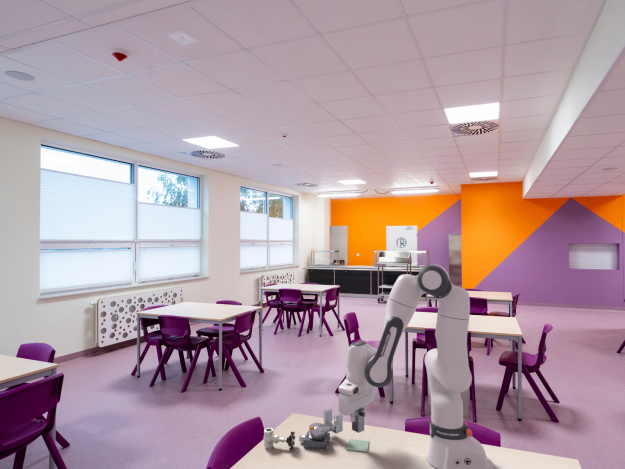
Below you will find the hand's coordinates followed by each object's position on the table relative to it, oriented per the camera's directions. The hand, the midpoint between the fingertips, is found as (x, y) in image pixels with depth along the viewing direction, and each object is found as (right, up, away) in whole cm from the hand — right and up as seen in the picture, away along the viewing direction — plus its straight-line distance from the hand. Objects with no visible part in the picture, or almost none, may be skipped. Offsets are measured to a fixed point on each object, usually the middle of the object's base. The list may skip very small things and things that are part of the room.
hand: (357, 419), depth 154 cm
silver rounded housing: (-13, -7, +3) cm, 15 cm away
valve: (-31, -11, -1) cm, 33 cm away
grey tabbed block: (0, -4, -1) cm, 4 cm away
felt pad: (0, -10, 0) cm, 11 cm away
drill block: (-17, -11, +1) cm, 20 cm away
